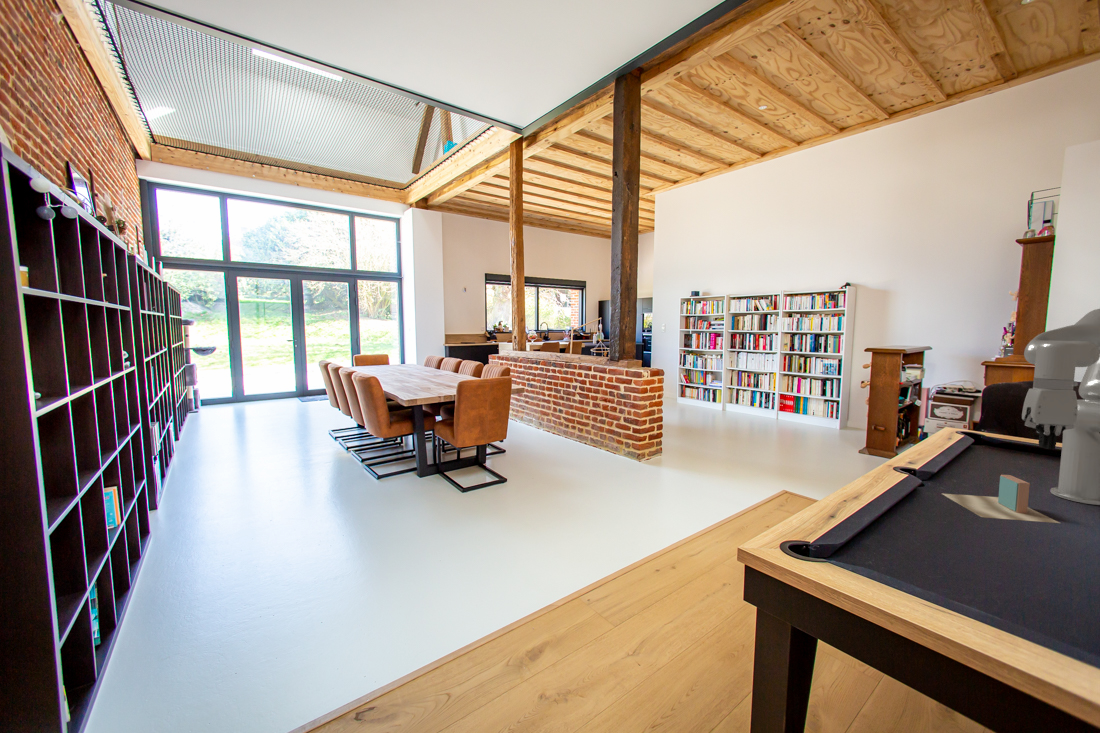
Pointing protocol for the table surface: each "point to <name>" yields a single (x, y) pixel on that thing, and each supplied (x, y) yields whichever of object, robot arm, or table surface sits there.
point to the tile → (1013, 493)
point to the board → (996, 508)
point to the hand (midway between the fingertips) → (1046, 447)
